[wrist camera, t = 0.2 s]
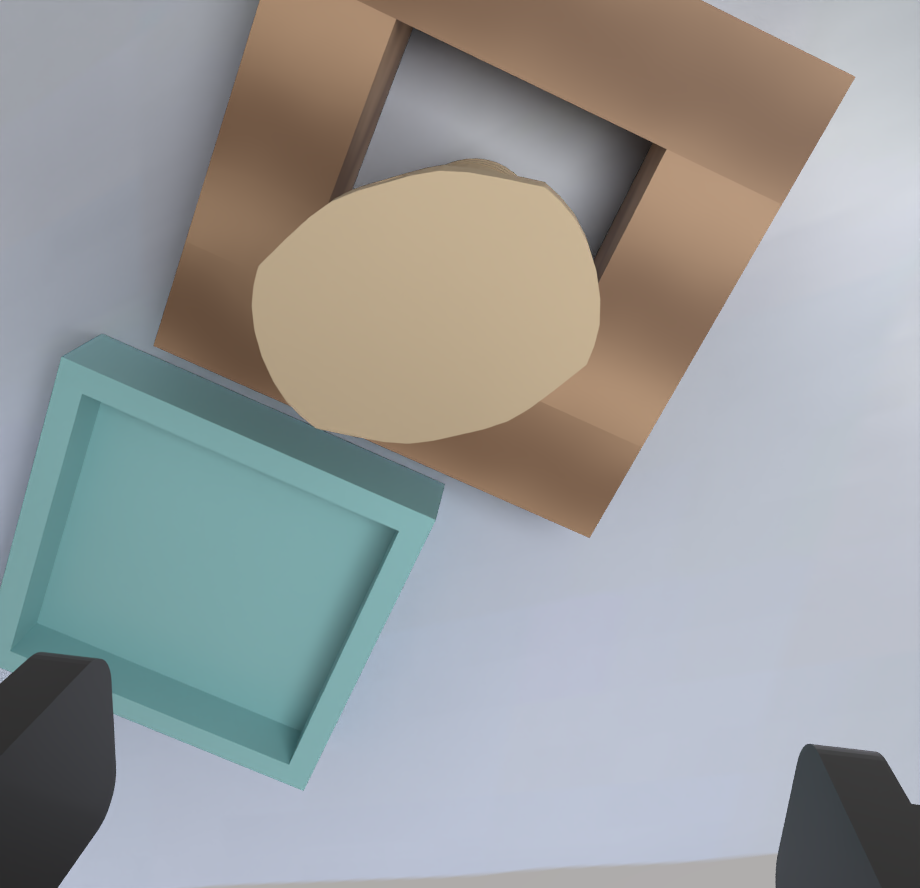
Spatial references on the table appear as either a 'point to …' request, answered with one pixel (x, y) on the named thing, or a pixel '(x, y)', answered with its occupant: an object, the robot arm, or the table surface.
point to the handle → (428, 304)
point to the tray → (207, 556)
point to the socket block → (623, 250)
